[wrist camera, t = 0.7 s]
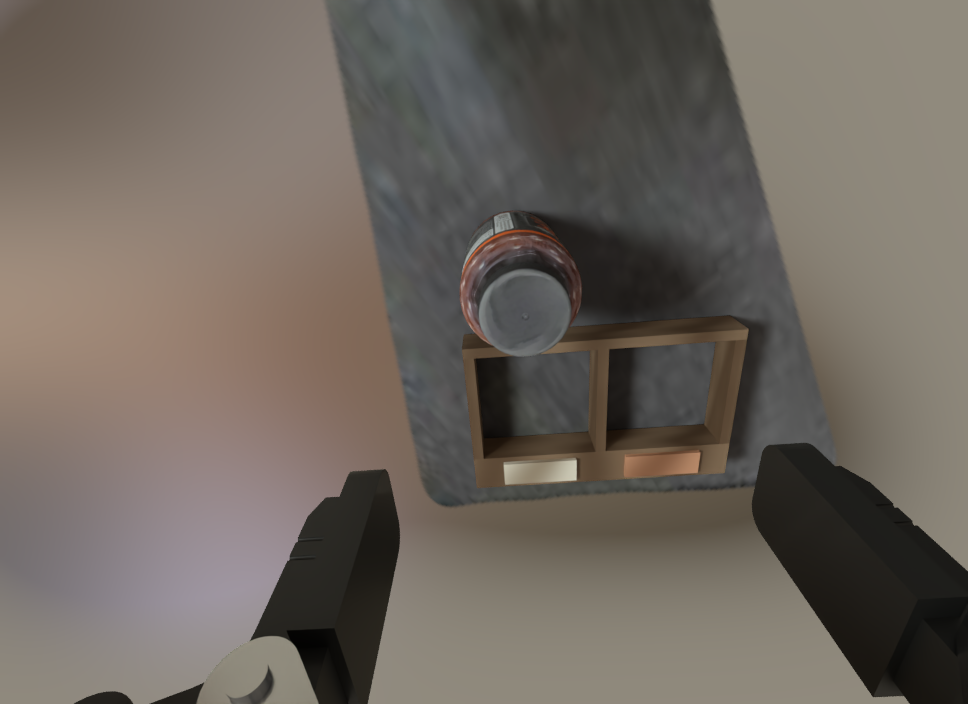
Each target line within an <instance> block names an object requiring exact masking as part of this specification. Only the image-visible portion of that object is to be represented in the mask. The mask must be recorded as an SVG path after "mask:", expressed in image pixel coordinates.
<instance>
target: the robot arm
mask: <svg viewBox="0 0 968 704" xmlns="http://www.w3.org/2000/svg"><path fill="white" fill-rule="evenodd" d="M752 512H753V517H754V520H755V523H756V525H757V527H758V530H759V532H760V533H761V535H762V536H763V538H764V539H765V541H766V542H767V543H768V545H769V546H770V548H771V549H772V551H773V552H774V554H775V555H776V557H777V558H778V559H779V561H780V562H781V564H782V565H783V567H784V568H785V570H786V571H787V572H788V574H789V575H790V577H791V578H792V580H793V581H794V583H795V584H796V586H797V587H798V588H799V590H800V592H801V593H802V594H803V596H804V597H805V599H806V600H807V602H808V603H809V605H810V606H811V608H812V609H813V610H814V611H815V613H816V615H817V616H818V618H819V619H820V620H821V622H822V623H823V625H824V626H825V628H826V629H827V631H828V632H829V633H830V635H831V637H832V638H833V639H834V641H835V642H836V644H837V645H838V647H839V648H840V650H841V651H842V653H843V654H844V656H845V657H846V658H847V660H848V661H849V663H850V664H851V666H852V667H853V669H854V670H855V672H856V673H857V675H858V676H859V677H860V679H861V680H862V681H863V683H864V685H865V686H866V688H867V689H868V691H869V692H870V693H871V695H872V696H873V697H888V696H904V697H905V698H906V699H907V701H908V702H909V703H910V704H968V571H967V570H966V569H965V568H963V567H962V566H961V565H960V564H959V563H958V562H957V561H956V560H954V559H953V558H952V557H951V556H950V555H949V554H948V553H947V552H946V551H945V550H944V549H943V548H941V547H940V546H939V545H938V544H937V543H936V542H935V541H934V540H933V539H931V538H930V537H929V536H928V535H927V534H926V533H925V532H924V531H923V530H922V529H921V528H919V527H918V526H914V525H913V523H912V520H911V519H910V518H909V517H907V516H906V515H905V514H904V513H903V512H902V511H901V510H900V509H899V508H894V506H893V503H892V502H891V501H890V500H889V499H888V498H886V497H885V496H884V495H883V494H882V493H881V492H880V491H879V490H878V489H877V488H875V487H874V486H873V485H872V484H871V483H870V482H868V481H866V480H864V479H863V478H861V477H859V476H857V475H856V474H854V473H852V472H850V471H849V470H847V469H845V468H843V467H842V466H834V465H833V464H832V463H831V462H830V461H829V460H828V459H827V458H826V457H825V456H824V455H823V454H822V453H821V452H819V451H818V450H817V449H816V448H815V447H814V446H813V445H811V444H809V443H794V444H779V445H768V446H766V447H765V448H764V450H763V452H762V456H761V461H760V466H759V470H758V475H757V480H756V485H755V489H754V494H753V500H752ZM399 544H400V528H399V520H398V516H397V511H396V506H395V502H394V497H393V492H392V488H391V484H390V479H389V475H388V472H387V471H386V470H385V469H384V470H367V471H353V472H350V474H349V475H348V477H347V480H346V482H345V485H344V487H343V489H342V492H341V494H340V497H330V498H325V499H324V500H323V501H322V502H321V503H320V504H319V505H318V507H317V508H316V509H315V510H314V511H313V512H312V513H311V514H310V515H309V516H308V517H307V519H306V522H305V524H304V526H303V528H302V530H301V533H300V535H299V537H298V542H297V543H296V544H295V546H294V548H293V550H292V552H291V554H290V560H289V561H287V563H286V565H285V567H284V569H283V572H282V574H281V576H280V578H279V580H278V583H277V585H276V587H275V589H274V591H273V594H272V595H271V598H270V600H269V602H268V605H267V606H266V609H265V611H264V613H263V615H262V617H261V619H260V622H259V624H258V626H257V628H256V630H255V632H254V634H253V636H252V638H251V640H250V641H249V642H247V643H245V644H243V645H241V646H239V647H238V648H236V649H235V650H233V651H232V652H231V653H230V654H228V655H227V656H226V657H225V658H224V659H223V660H222V661H221V662H220V663H219V664H218V665H217V666H216V667H215V668H214V670H213V671H212V672H211V673H210V675H209V676H208V678H207V679H206V681H205V682H204V683H202V684H200V685H198V686H196V687H193V688H191V689H188V690H186V691H183V692H180V693H177V694H175V695H172V696H169V697H167V698H164V699H161V700H159V701H156V702H153V703H151V704H368V699H369V694H370V689H371V684H372V679H373V674H374V669H375V665H376V660H377V654H378V650H379V645H380V640H381V635H382V631H383V626H384V621H385V616H386V611H387V606H388V601H389V596H390V591H391V586H392V582H393V577H394V571H395V567H396V562H397V558H398V552H399ZM74 704H133V703H132V701H131V700H130V699H129V698H128V697H127V696H126V695H124V694H123V693H120V692H103V693H98V694H95V695H92V696H89V697H86V698H84V699H82V700H80V701H78V702H76V703H74Z"/></svg>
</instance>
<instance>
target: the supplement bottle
mask: <svg viewBox="0 0 968 704" xmlns="http://www.w3.org/2000/svg"><path fill="white" fill-rule="evenodd" d="M581 299H582V283H581V277H580V274H579V270H578V268H577V265H576V263H575V261H574V260H573V258H572V256H571V255H570V254H569V252H568V250H567V249H566V248H565V247H564V245H563V244H562V243H561V241H560V240H559V239H558V237H557V236H556V235H555V233H554V231H553V230H552V229H551V228H550V227H549V226H548V224H546V223H545V222H544V221H542V220H541V219H539V218H538V217H536V216H534V215H532V214H529V213H526V212H522V211H507V212H502V213H498V214H496V215H493V216H492V217H490V218H488V219H486V220H485V221H484V222H483V223H482V224H481V225H480V226H479V227H478V228H477V229H476V231H475V232H474V233H473V235H472V237H471V239H470V242H469V244H468V247H467V251H466V256H465V261H464V266H463V271H462V276H461V283H460V302H461V307H462V311H463V314H464V316H465V319H466V321H467V323H468V324H469V326H470V327H471V328H472V330H473V331H474V332H475V333H476V334H477V335H478V336H479V337H480V338H481V339H482V340H484V341H486V342H487V343H488V344H490V345H492V346H494V347H495V348H497V349H498V350H500V351H501V352H503V353H506V354H509V355H513V356H518V357H528V356H535V355H538V354H541V353H543V352H546V351H547V350H549V349H551V348H552V347H554V346H555V345H556V344H557V343H558V342H559V341H560V340H561V339H562V338H563V336H564V335H565V333H566V331H567V330H568V328H569V327H570V326H571V324H572V323H573V321H574V319H575V318H576V316H577V313H578V311H579V308H580V304H581Z"/></svg>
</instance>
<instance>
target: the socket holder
mask: <svg viewBox="0 0 968 704" xmlns="http://www.w3.org/2000/svg"><path fill="white" fill-rule="evenodd" d="M748 331H749V329H748V328H746V327H745V326H744V325H742V324H741V323H740V322H738V321H737V320H735V319H734V318H733V317H731V316H730V315H729V316H715V317H702V318H688V319H674V320H660V321H646V322H632V323H619V324H605V325H591V326H577V327H569V328H568V330H567V331H566V333H565V335H564V336H563V338H562V339H561V340H560V341H559V342H558V343H557V344H556V345H555V346H554V347H552V348H551V349H549V350H547V351H546V352H543V353H541V354H547V353H562V352H576V351H590V376H589V432H578V433H562V434H547V435H532V436H516V437H501V438H485V439H484V436H483V425H482V415H481V404H480V394H479V383H478V373H477V362H476V359H477V358H491V357H505V356H513V355H509V354H506V353H503V352H501V351H500V350H498V349H497V348H495V347H494V346H492V345H490V344H488V343H487V342H486V341H484V340H482V339H481V338H480V337H479V336H478V335H477V334H466V335H464V337H463V346H462V353H463V362H464V372H465V381H466V390H467V399H468V409H469V418H470V427H471V436H472V446H473V455H474V464H475V474H476V483H477V488H485V487H501V486H517V485H534V484H550V483H567V482H583V481H599V480H616V479H632V478H649V477H665V476H681V475H698V474H714V473H725V467H726V461H727V455H728V449H729V443H730V438H731V432H732V426H733V420H734V414H735V408H736V402H737V396H738V390H739V384H740V378H741V373H742V367H743V361H744V355H745V349H746V343H747V337H748ZM703 342H716V344H715V351H714V358H713V366H712V373H711V380H710V387H709V394H708V402H707V409H706V416H705V423H704V424H702V425H686V426H671V427H655V428H640V429H624V430H609V431H606V424H607V396H608V368H609V349H618V348H633V347H647V346H661V345H675V344H689V343H703Z"/></svg>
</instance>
